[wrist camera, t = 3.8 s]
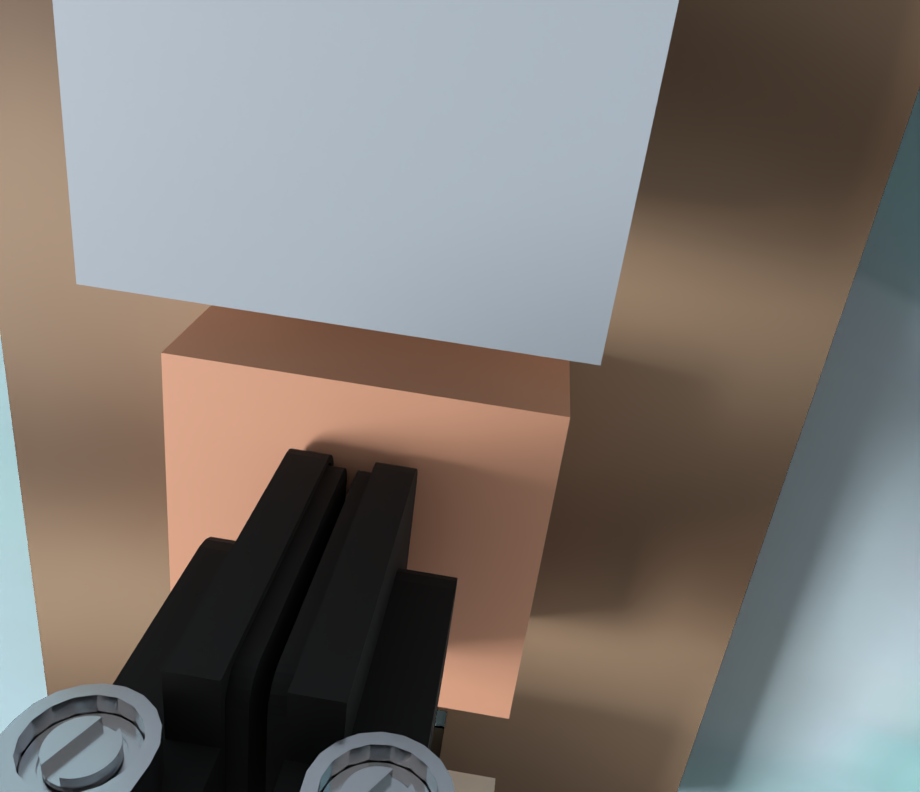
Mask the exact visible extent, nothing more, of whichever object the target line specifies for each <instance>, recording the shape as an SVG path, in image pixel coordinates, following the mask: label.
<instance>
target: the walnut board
mask: <svg viewBox="0 0 920 792" xmlns="http://www.w3.org/2000/svg"><path fill="white" fill-rule="evenodd" d="M919 88H920V0H679V3H678V8H677V12H676V17H675V22H674V26H673V31H672V35H671V40H670V45H669V49H668V54H667V59H666V63H665V68H664V73H663V77H662V82H661V87H660V91H659V96H658V101H657V105H656V110H655V115H654V119H653V124H652V128H651V133H650V138H649V142H648V147H647V152H646V156H645V161H644V166H643V170H642V175H641V180H640V184H639V189H638V194H637V198H636V203H635V207H634V212H633V217H632V221H631V226H630V231H629V235H628V240H627V245H626V249H625V254H624V259H623V263H622V268H621V273H620V277H619V282H618V287H617V291H616V296H615V300H614V305H613V310H612V314H611V319H610V324H609V328H608V333H607V338H606V342H605V347H604V352H603V356H602V361H601V365H594V364H588V363H581V362H575V361H569V364H570V421H569V426H568V431H567V436H566V441H565V446H564V451H563V456H562V461H561V465H560V470H559V475H558V480H557V485H556V490H555V495H554V500H553V505H552V510H551V515H550V519H549V524H548V529H547V534H546V539H545V544H544V549H543V554H542V559H541V564H540V569H539V573H538V578H537V583H536V588H535V593H534V598H533V603H532V608H531V613H530V618H529V623H528V627H527V632H526V637H525V642H524V647H523V652H522V657H521V662H520V667H519V672H518V677H517V681H516V686H515V691H514V696H513V701H512V706H511V711H510V716H509V719H507V718H501V717H495V716H489V715H484V714H478V713H472V712H466V711H460V710H455V709H449V708H443V707H437V710H442V711H447V715H446V721H445V728H444V729H442V728H436V727H434V730H433V736H432V742H431V748H430V751H431V752H433V753H434V754H435V755H436V756H437V757H438V758H439V759H441V761H442V763H443V764H444V766H445V768H446V769H447V770H451V771H457V772H462V773H468V774H474V775H479V776H485V777H491V778H495V790H494V792H677V791H678V788H679V785H680V782H681V779H682V776H683V773H684V770H685V767H686V764H687V761H688V759H689V756H690V753H691V750H692V747H693V744H694V741H695V738H696V735H697V732H698V730H699V727H700V724H701V721H702V718H703V715H704V712H705V709H706V706H707V703H708V701H709V698H710V695H711V692H712V689H713V686H714V683H715V680H716V677H717V674H718V672H719V669H720V666H721V663H722V660H723V657H724V654H725V651H726V648H727V645H728V643H729V640H730V637H731V634H732V631H733V628H734V625H735V622H736V619H737V616H738V613H739V611H740V608H741V605H742V602H743V599H744V596H745V593H746V590H747V587H748V584H749V582H750V579H751V576H752V573H753V570H754V567H755V564H756V561H757V558H758V555H759V553H760V550H761V547H762V544H763V541H764V538H765V535H766V532H767V529H768V526H769V524H770V521H771V518H772V515H773V512H774V509H775V506H776V503H777V500H778V497H779V495H780V492H781V489H782V486H783V483H784V480H785V477H786V474H787V471H788V468H789V465H790V463H791V460H792V457H793V454H794V451H795V448H796V445H797V442H798V439H799V436H800V434H801V431H802V428H803V425H804V422H805V419H806V416H807V413H808V410H809V407H810V405H811V402H812V399H813V396H814V393H815V390H816V387H817V384H818V381H819V378H820V376H821V373H822V370H823V367H824V364H825V361H826V358H827V355H828V352H829V349H830V347H831V344H832V341H833V338H834V335H835V332H836V329H837V326H838V323H839V320H840V317H841V315H842V312H843V309H844V306H845V303H846V300H847V297H848V294H849V291H850V288H851V286H852V283H853V280H854V277H855V274H856V271H857V268H858V265H859V262H860V259H861V257H862V254H863V251H864V248H865V245H866V242H867V239H868V236H869V233H870V230H871V228H872V225H873V222H874V219H875V216H876V213H877V210H878V207H879V204H880V201H881V199H882V196H883V193H884V190H885V187H886V184H887V181H888V178H889V175H890V172H891V169H892V167H893V164H894V161H895V158H896V155H897V152H898V149H899V146H900V143H901V140H902V138H903V135H904V132H905V129H906V126H907V123H908V120H909V117H910V114H911V111H912V109H913V106H914V103H915V100H916V97H917V94H918V91H919ZM210 306H211V305H208V304H201V303H195V302H188V301H182V300H175V299H169V298H163V297H156V296H150V295H143V294H137V293H130V292H124V291H117V290H111V289H105V288H98V287H92V286H85V285H79V284H76V274H75V262H74V250H73V238H72V226H71V214H70V203H69V191H68V179H67V167H66V155H65V143H64V132H63V120H62V108H61V96H60V84H59V73H58V61H57V49H56V37H55V25H54V13H53V2H52V0H0V334H1V341H2V349H3V357H4V364H5V372H6V380H7V387H8V395H9V403H10V410H11V418H12V426H13V433H14V441H15V449H16V456H17V464H18V472H19V480H20V487H21V495H22V503H23V510H24V518H25V526H26V533H27V541H28V549H29V556H30V564H31V572H32V579H33V587H34V595H35V603H36V610H37V618H38V626H39V633H40V641H41V649H42V656H43V664H44V672H45V679H46V687H47V695H48V696H49V695H51V694H53V693H55V692H58V691H61V690H65V689H68V688H72V687H75V686H79V685H87V684H102V683H106V684H113V683H114V681H115V680H116V678H117V676H118V675H119V673H120V672H121V670H122V668H123V667H124V665H125V664H126V662H127V661H128V659H129V657H130V656H131V654H132V653H133V651H134V649H135V648H136V646H137V645H138V643H139V642H140V640H141V638H142V637H143V635H144V634H145V632H146V630H147V629H148V627H149V626H150V624H151V622H152V621H153V619H154V618H155V616H156V615H157V613H158V611H159V610H160V608H161V607H162V605H163V603H164V602H165V600H166V599H167V597H168V595H169V594H170V567H169V541H168V516H167V490H166V465H165V439H164V413H163V388H162V362H161V352H162V351H164V350H165V349H166V348H167V347H168V346H169V345H170V344H171V343H172V342H173V341H174V340H175V339H176V338H177V337H178V336H179V335H180V334H182V333H183V332H184V331H185V330H186V329H187V328H188V327H189V326H190V325H191V324H192V323H193V322H194V321H195V320H196V319H197V318H198V317H199V316H201V315H202V314H203V313H204V312H205V311H206V310H207V309H208V308H209V307H210Z"/></svg>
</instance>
